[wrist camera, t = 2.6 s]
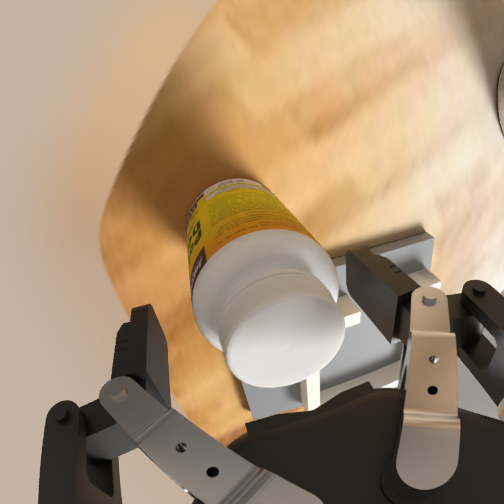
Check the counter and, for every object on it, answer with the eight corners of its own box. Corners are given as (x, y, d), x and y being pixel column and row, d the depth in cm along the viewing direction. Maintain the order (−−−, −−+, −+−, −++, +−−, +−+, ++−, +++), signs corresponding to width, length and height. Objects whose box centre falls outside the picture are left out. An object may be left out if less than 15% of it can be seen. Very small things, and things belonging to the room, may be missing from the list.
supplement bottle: (178, 183, 17) (181, 288, 8) (279, 170, 18) (381, 253, 9) (192, 273, 19) (212, 415, 10) (282, 258, 20) (356, 381, 11)
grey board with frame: (426, 232, 22) (451, 249, 19) (405, 357, 29) (420, 377, 26) (215, 289, 20) (221, 319, 18) (251, 411, 27) (258, 437, 24)
